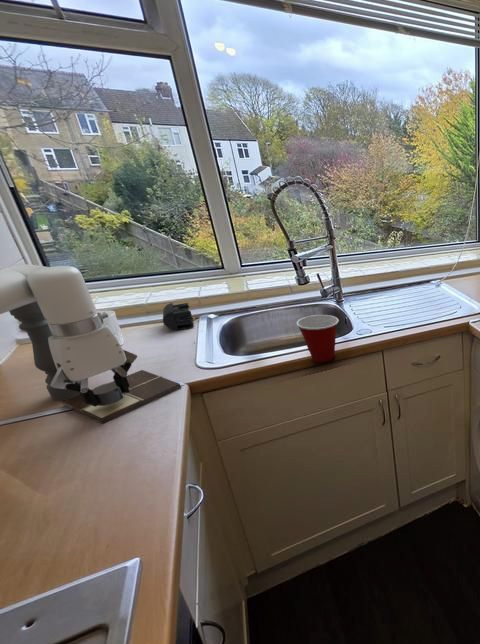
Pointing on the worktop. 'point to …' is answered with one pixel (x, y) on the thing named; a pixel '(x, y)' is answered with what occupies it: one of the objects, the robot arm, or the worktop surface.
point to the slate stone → (108, 393)
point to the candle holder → (41, 346)
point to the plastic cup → (319, 336)
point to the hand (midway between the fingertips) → (108, 397)
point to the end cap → (177, 316)
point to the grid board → (126, 397)
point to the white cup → (113, 325)
